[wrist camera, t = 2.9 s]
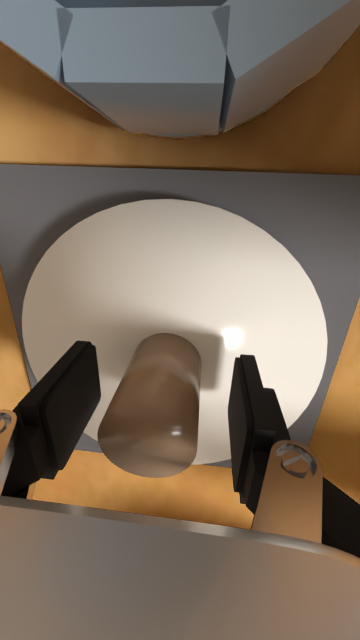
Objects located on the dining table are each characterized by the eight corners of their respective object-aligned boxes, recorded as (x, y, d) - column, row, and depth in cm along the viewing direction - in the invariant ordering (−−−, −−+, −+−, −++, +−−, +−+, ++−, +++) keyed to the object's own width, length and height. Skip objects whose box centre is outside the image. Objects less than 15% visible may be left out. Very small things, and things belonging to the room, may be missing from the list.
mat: (296, 469, 16) (298, 475, 16) (49, 441, 18) (46, 446, 17) (393, 177, 10) (400, 176, 9) (-18, 164, 11) (-26, 162, 11)
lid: (285, 461, 16) (320, 583, 11) (59, 436, 17) (-3, 537, 12) (361, 205, 10) (514, 215, 5) (3, 193, 11) (-168, 191, 6)
